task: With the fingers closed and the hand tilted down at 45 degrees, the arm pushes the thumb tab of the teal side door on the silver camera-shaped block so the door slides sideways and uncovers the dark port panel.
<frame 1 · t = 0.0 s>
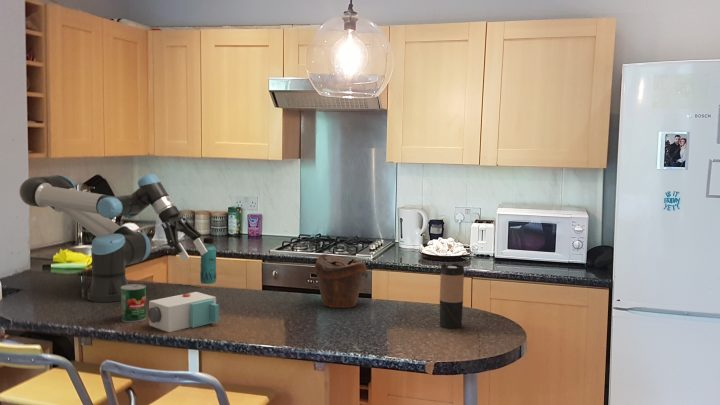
hand: (195, 256, 247), 15 cm above the breakfast bar, tool tilted 35°, fingers open, 13 cm apart
brown tapered cylinder: (340, 304, 239), on the breakfast bar
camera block: (183, 323, 211), on the breakfast bar
door: (204, 314, 207), point 4 cm above the breakfast bar, slide at 0.0 cm
beverage bottle: (208, 286, 265), on the breakfast bar
travel mug: (450, 326, 214), on the breakfast bar
canned tomato: (133, 319, 215), on the breakfast bar
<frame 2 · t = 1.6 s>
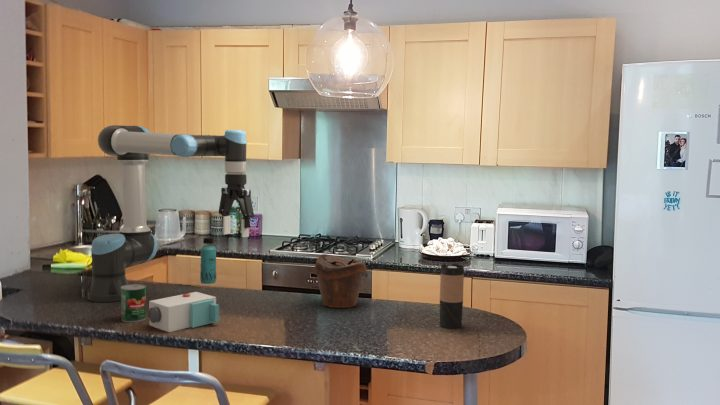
hand: (236, 235, 232), 26 cm above the breakfast bar, tool pointing down, fingers open, 10 cm apart
nothing on the breakfast bar moved.
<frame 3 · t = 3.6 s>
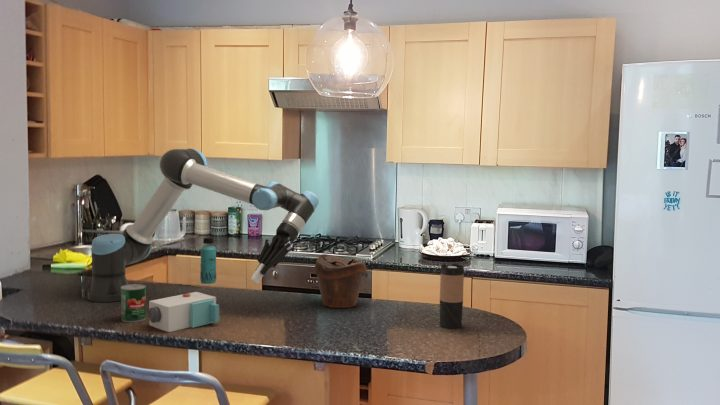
hand: (254, 280, 220), 12 cm above the breakfast bar, tool tilted 45°, fingers closed
nothing on the breakfast bar moved.
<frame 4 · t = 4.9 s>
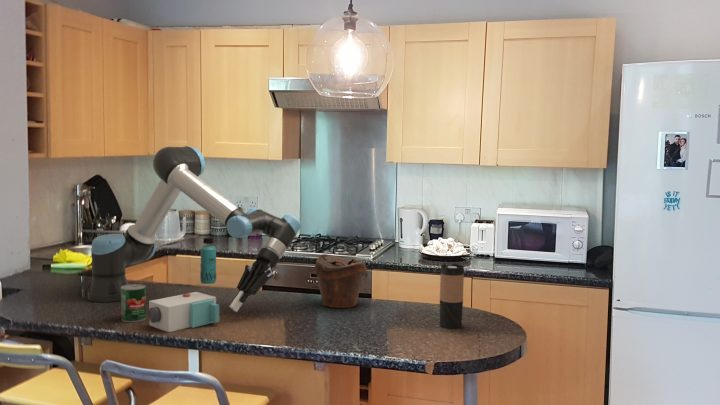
hand: (233, 309, 214), 4 cm above the breakfast bar, tool tilted 45°, fingers closed
nothing on the breakfast bar moved.
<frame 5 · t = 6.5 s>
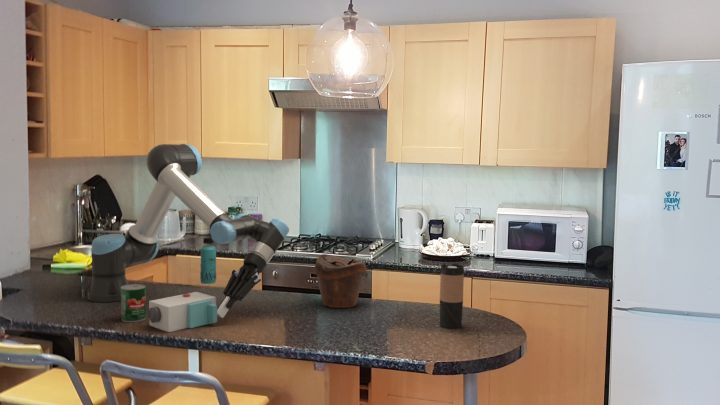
hand: (219, 315, 210), 3 cm above the breakfast bar, tool tilted 45°, fingers closed
door: (202, 314, 207), point 4 cm above the breakfast bar, slide at 0.9 cm, touching gripper
everything else where it was.
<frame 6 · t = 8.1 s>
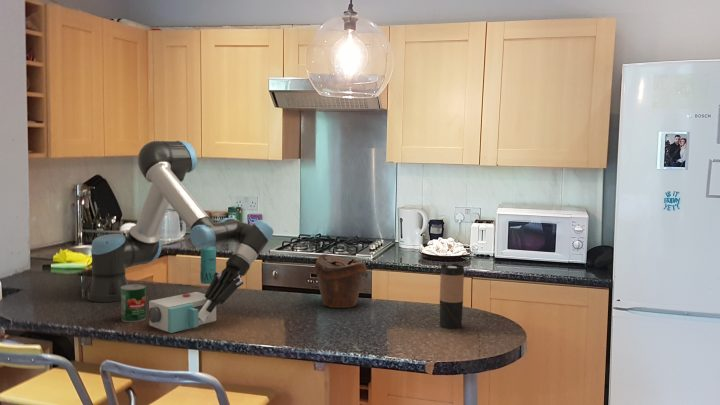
hand: (199, 319, 204), 3 cm above the breakfast bar, tool tilted 45°, fingers closed
door: (183, 319, 201), point 4 cm above the breakfast bar, slide at 8.1 cm, touching gripper
everything else where it was.
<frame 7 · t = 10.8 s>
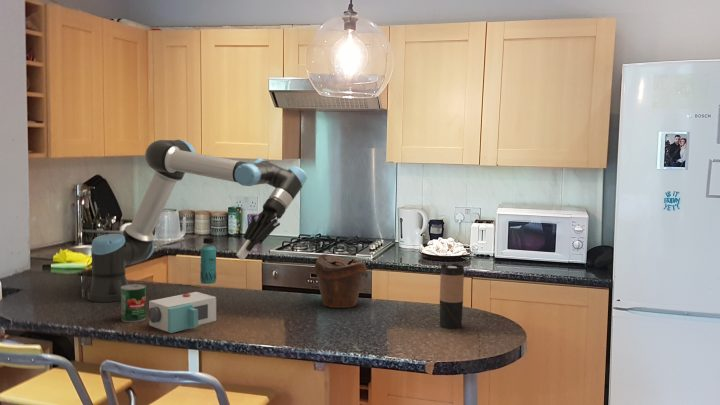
hand: (239, 257, 215), 21 cm above the breakfast bar, tool tilted 45°, fingers closed
door: (183, 319, 201), point 4 cm above the breakfast bar, slide at 8.1 cm
everything else where it was.
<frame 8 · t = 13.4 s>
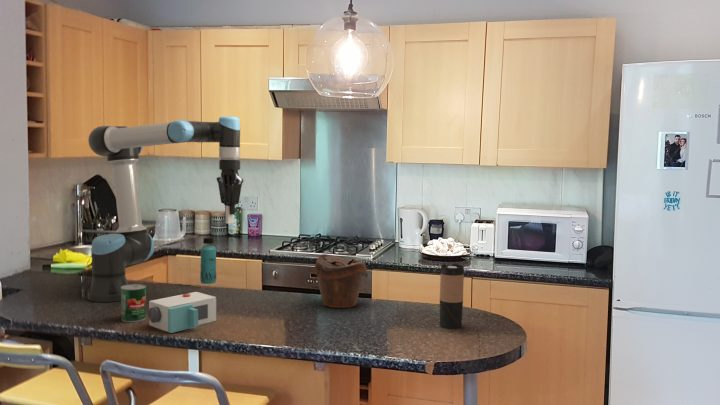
hand: (229, 223, 238), 29 cm above the breakfast bar, tool pointing down, fingers closed
nothing on the breakfast bar moved.
at the end: door slide at 8.1 cm; the gripper is holding nothing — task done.
